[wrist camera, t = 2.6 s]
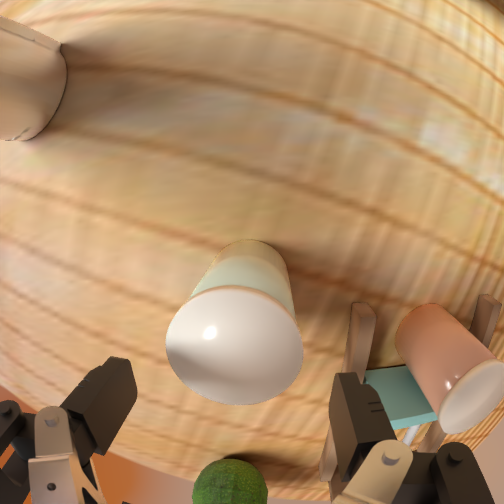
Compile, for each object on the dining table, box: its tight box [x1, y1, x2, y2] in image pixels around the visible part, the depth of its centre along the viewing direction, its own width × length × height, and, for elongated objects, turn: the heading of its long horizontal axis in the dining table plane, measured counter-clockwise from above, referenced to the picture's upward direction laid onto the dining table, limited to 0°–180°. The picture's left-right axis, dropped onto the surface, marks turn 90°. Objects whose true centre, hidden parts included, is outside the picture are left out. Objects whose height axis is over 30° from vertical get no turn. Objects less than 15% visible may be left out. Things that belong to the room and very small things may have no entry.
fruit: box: [192, 459, 268, 504], centre depth 21 cm, size 8×8×12 cm
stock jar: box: [395, 303, 504, 434], centre depth 17 cm, size 6×6×10 cm
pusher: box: [362, 366, 438, 446], centre depth 20 cm, size 8×11×6 cm
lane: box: [318, 294, 502, 503], centre depth 20 cm, size 23×14×8 cm, turn 1°
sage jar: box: [166, 240, 303, 405], centre depth 16 cm, size 6×6×10 cm
